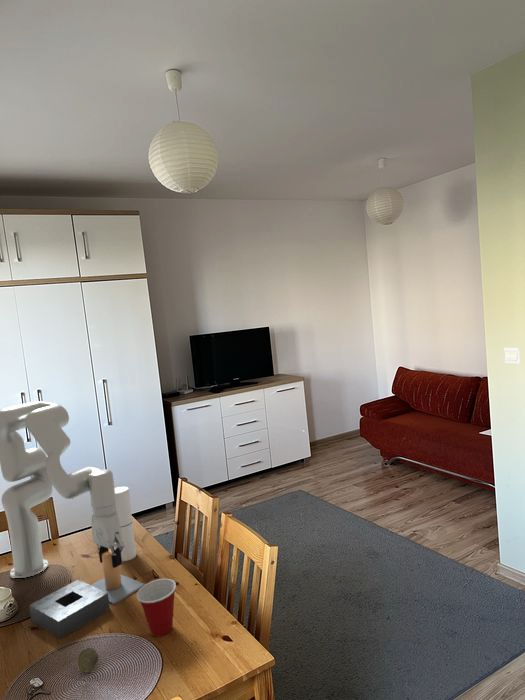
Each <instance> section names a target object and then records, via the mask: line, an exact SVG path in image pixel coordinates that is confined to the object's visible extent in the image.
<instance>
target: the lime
mask: <svg viewBox="0 0 525 700" xmlns="http://www.w3.org/2000/svg"><path fill="white" fill-rule="evenodd" d="M98 654H99V653H98V652H97V650H95V649H94V648H92V647H88V648H85V649H84V650H82V651H81V653H80V654H79V655H78V658H77V665H78V667H79V668H80V670H81V671H82V672H85V673H91V672H92V671H93V670H95V669H96V667H97V665H98V662H99V655H98Z"/></svg>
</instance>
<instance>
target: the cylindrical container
mask: <svg viewBox="0 0 525 700" xmlns="http://www.w3.org/2000/svg"><path fill="white" fill-rule="evenodd" d="M114 489H115V497H116V505H117V514H118V518H119V522H120V527H121V533H122V541H123V543H124V544H125V546H124V547H123V549H122V552H121V558H122V562H127V561H131V560H133V559H134V558H136V556H137V550H136V549H137V548H136V541H135V532H134V525H133V517H132V514H133V513H132V506H131V505H132V504H131V499H130V491H129V489H130V488H129V487H128V486H117V487H114ZM114 544H116V542H115V543H114ZM116 548H117V546H115V547H114V549H115V550H116Z"/></svg>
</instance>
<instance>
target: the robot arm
mask: <svg viewBox="0 0 525 700" xmlns="http://www.w3.org/2000/svg"><path fill="white" fill-rule="evenodd" d="M69 420H70V416H69V412H68V410H67V409H66V408H65V407H64V406H62V405H60V404H57V403H53V402H46V401H39V400H37V401H36V400H35V401H30V402H26V403H21V404H17V405H12V406H8V407H5V408H2V409H0V470H1V474H2V477H3V479H4V480H5V481H6V482H8V483H14V482H18V481H21V480H23V479H26V478H28V477H30V478H29V479H27V480H23V481H22V482H18V483H16V484H14V485H12V486H10V487H8V488H7V489H6V490H5V491H4V492H3V494H2V495H1V504H2V507H3V510H4V512H5V516H6V521H7V526H8V533H9V537H10V538H9V539H10V547H11V554H12V561H13V568H11V570H10V572H9V576H10V578H12V579H14V578H25V579H27V578H26V577H30V576H33V577H35V576H34V575H36V574H38V573H40V572H42V571H43V572H45V571H46V570H47V569H48V568H49V565H50V564H49V561H48V559H44V555H43V548H42V547H43V546H42V542H41V541H42V540H41V534H40V533H41V532H40V527H39V526H40V525H39V519H38V517H37V515H36V514H35V513H34V512H33V511H32V510H31V509H32V508H33V507H35V506H37V505H40V504H42V503H44V502H46V501H48V500H49V499H50V498H51V496H52V494H53V488H54V489H55V491H56V492H57V493H58V494H59V495H60V496H61V497H63V498H64V499H66V500H73V499H76V498H78V497H79V496H81V495H83V494H85V493H87V492H89V495H90V504H91V512H92V514H91V533H92V535H91V536H92V541H93V544H96V546H97V549H96V550H97V551H98V554H99V555H98V556H99V562H100V563H101V564H103V562H102V553H104V552H106V551H108V550H111V551H112V554H113V555H112V556H111V557H112V565H113V568H115V567H117V566H121V565H122V564H123V561H122V558H121V552H122V549H123V547H124V546H125V544H124V543H123V541H122V533H121V527H120V522H119V518H118V514H117V505H116V497H115V489H114V488H115V481H114V475H113V471H112V470H111V469H107V468H104V469H101V468H98V467H95V466H86V467H83V468H80V469H78V470H76V471H74V472H71V473H69V474H68V473H67V472H66V470H65V469H64V468H63V466H62V464H61V460H60V459H61V458H60V457H61V456H62V455H63V454H64V453H65V452H66V451H67V450H68V448H69V446H70V445H71V439H70V437H69V436H68V435H67V434H66V432H65V431H64V430H63V429H62V428H64V427H66V426H67V424H68V423H69ZM23 429H27V430H28V431H29V433H30V434H31V436H32V437H33V439H35V441H36V442H37V443H38V444H39V447H40V448H39V447H30V448H27V449H26V447H25V441H24V438H23V437H22V435H21V434H20V433H19V432H17V431H19V430H23ZM115 542H116V544H114V543H115ZM115 546H117V548H116V550H115ZM47 567H48V568H47ZM46 568H47V569H46ZM45 569H46V570H45ZM44 570H45V571H44ZM43 572H42V573H43ZM40 574H41V573H40ZM38 575H39V574H38ZM36 576H37V575H36ZM30 578H31V577H30Z"/></svg>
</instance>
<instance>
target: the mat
mask: <svg viewBox="0 0 525 700" xmlns="http://www.w3.org/2000/svg"><path fill="white" fill-rule="evenodd" d="M121 583H122V585H121V587H120V588H118V589H115V590H106V586H105V578H104V577H103V578H101V579H99V580H97V581H95V582H94V583H92V584H90V585H91V586H93V587H96V588H98V589H100V590H102V591H104V592H107V593H108V597H109V604H110V605H115V604H117V603H119V602H121V601H122V600H124V599H126V598H127V597H129V596H130V595H132V594H133V593H135V592H138V591H139V589H140V588H141V587H143V586H144V585H145V583H143V582H140V581H138V580H135V579H134V578H130V577H128V576H126V575H123V574H121Z"/></svg>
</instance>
